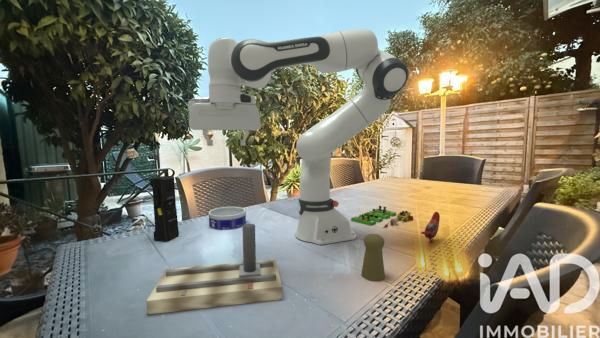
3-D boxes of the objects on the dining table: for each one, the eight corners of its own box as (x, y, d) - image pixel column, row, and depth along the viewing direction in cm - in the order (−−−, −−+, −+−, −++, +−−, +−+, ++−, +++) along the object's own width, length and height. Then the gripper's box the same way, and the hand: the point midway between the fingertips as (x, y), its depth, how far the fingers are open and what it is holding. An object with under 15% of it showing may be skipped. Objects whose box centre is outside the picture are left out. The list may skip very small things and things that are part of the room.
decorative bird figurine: (441, 237, 99) (443, 211, 98) (425, 252, 86) (426, 222, 85) (433, 235, 101) (434, 209, 99) (415, 250, 88) (417, 220, 87)
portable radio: (166, 242, 94) (162, 172, 92) (151, 241, 96) (146, 171, 93) (180, 235, 102) (176, 169, 99) (166, 234, 103) (162, 169, 101)
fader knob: (259, 267, 69) (258, 221, 68) (260, 277, 64) (259, 228, 63) (239, 269, 68) (238, 223, 67) (239, 279, 63) (237, 229, 62)
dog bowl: (253, 222, 118) (253, 209, 117) (226, 233, 105) (226, 217, 104) (228, 217, 126) (228, 204, 125) (201, 226, 113) (200, 212, 112)
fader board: (275, 269, 74) (275, 256, 74) (282, 299, 61) (281, 282, 60) (167, 280, 69) (166, 265, 69) (147, 314, 56) (145, 296, 55)
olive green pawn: (358, 270, 74) (359, 231, 73) (379, 269, 75) (380, 231, 73) (365, 281, 68) (366, 240, 67) (388, 280, 69) (390, 239, 67)
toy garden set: (376, 212, 136) (377, 203, 135) (415, 219, 122) (415, 210, 122) (350, 222, 120) (350, 211, 119) (391, 232, 106) (392, 221, 106)
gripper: (184, 95, 74) (187, 146, 75) (260, 97, 77) (261, 145, 79) (189, 98, 80) (191, 145, 81) (259, 100, 84) (260, 145, 85)
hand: (226, 145), depth 80 cm, fingers open, 8 cm apart
